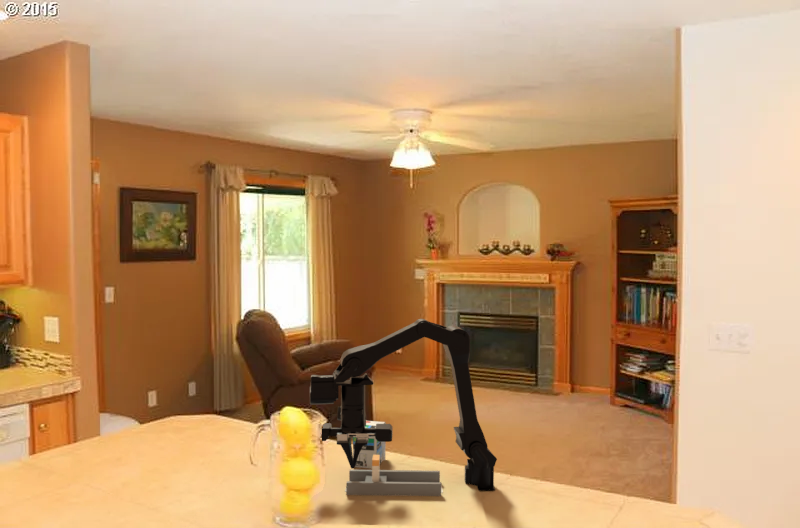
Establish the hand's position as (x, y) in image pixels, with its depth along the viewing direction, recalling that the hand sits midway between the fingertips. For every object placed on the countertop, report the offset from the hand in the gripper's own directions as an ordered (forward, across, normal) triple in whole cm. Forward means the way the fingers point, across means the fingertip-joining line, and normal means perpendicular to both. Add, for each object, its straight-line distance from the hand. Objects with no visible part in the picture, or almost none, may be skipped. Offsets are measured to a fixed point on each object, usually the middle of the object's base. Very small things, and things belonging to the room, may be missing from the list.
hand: (352, 467), depth 161 cm
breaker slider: (+5, -6, 0) cm, 7 cm away
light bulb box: (+6, -3, -19) cm, 20 cm away
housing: (+6, -10, 0) cm, 11 cm away
